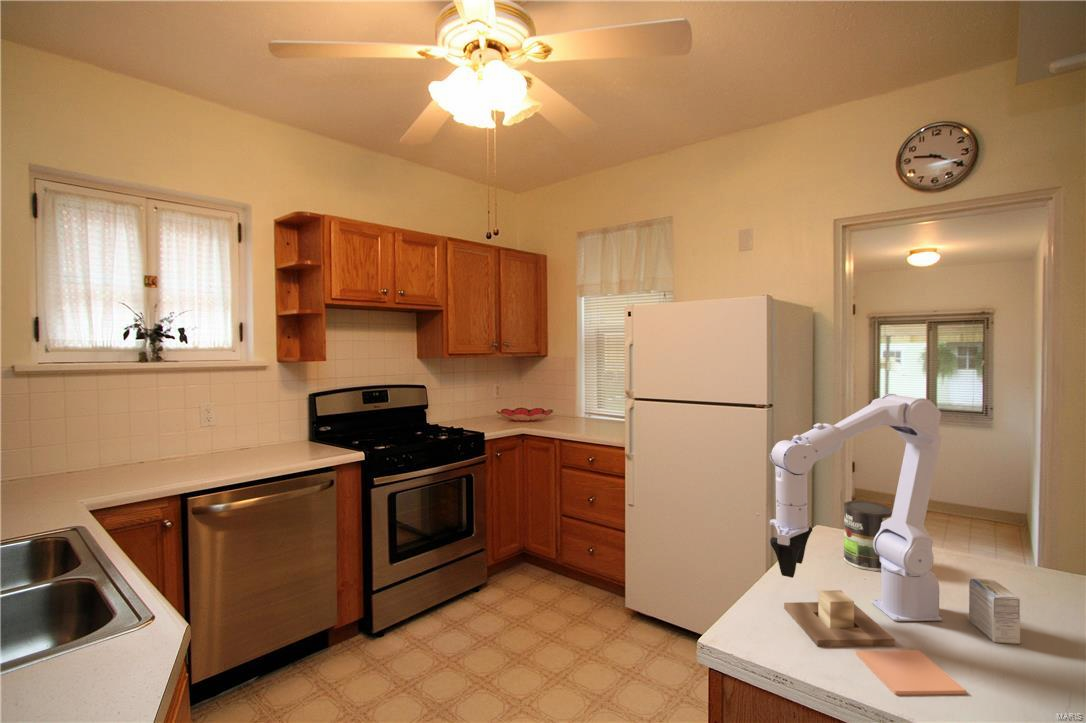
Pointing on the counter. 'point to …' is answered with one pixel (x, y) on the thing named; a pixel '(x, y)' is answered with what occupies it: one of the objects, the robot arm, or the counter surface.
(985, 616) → the medicine box
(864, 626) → the pocket plate
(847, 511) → the coffee can
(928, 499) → the robot arm
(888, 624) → the counter surface
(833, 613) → the birch block
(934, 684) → the tile
